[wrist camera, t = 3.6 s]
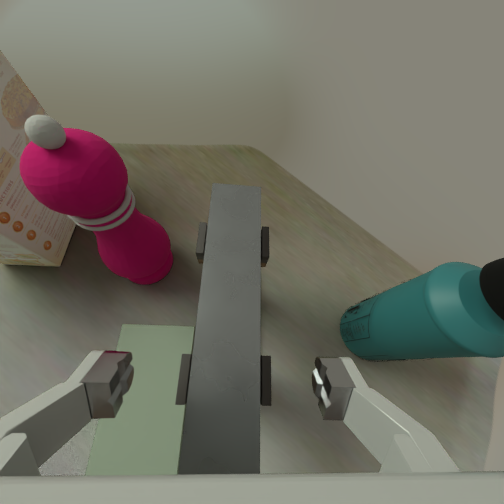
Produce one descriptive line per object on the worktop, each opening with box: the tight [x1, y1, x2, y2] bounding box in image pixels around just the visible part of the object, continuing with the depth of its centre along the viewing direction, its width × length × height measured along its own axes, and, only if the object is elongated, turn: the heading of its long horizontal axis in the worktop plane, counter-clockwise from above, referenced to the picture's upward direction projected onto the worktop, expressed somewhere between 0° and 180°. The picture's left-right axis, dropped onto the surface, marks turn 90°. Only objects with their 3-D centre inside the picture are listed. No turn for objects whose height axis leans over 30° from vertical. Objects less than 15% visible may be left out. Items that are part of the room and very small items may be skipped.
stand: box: [175, 222, 271, 406], centre depth 21 cm, size 6×15×14 cm, turn 179°
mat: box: [85, 324, 195, 475], centre depth 23 cm, size 8×17×1 cm, turn 179°
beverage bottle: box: [340, 258, 504, 362], centre depth 20 cm, size 6×7×20 cm
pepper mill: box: [20, 115, 173, 285], centre depth 21 cm, size 7×7×20 cm
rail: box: [178, 183, 261, 475], centre depth 15 cm, size 4×16×3 cm, turn 179°
